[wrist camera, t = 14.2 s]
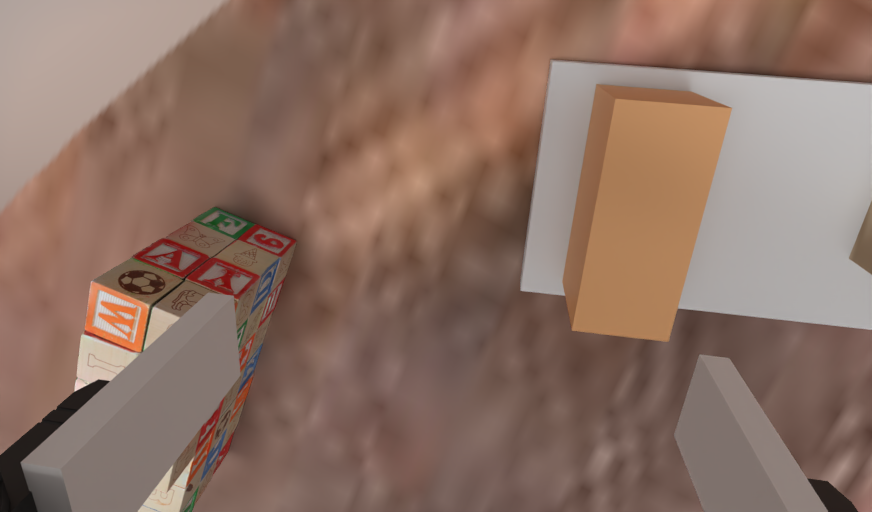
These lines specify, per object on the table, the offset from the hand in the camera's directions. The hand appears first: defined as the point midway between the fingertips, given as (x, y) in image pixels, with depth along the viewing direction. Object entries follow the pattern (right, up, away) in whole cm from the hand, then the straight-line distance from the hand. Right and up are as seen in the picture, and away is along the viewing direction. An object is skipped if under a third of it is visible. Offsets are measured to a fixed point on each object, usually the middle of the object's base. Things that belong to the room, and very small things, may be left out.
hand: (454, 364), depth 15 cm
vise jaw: (+10, +7, +17) cm, 21 cm away
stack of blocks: (-17, -3, +27) cm, 32 cm away
